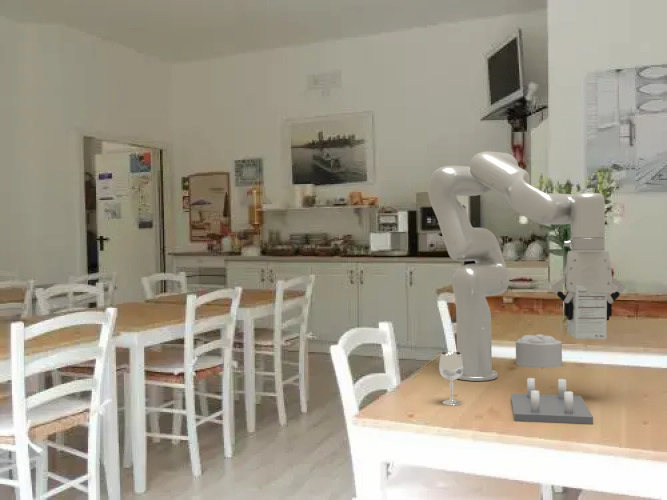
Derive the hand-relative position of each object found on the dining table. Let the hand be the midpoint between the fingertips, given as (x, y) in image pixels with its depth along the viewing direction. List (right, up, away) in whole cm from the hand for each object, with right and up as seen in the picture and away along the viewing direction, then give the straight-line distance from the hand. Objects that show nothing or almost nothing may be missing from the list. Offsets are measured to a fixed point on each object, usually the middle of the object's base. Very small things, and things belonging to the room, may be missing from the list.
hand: (587, 319), depth 159 cm
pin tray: (-11, -20, -7) cm, 24 cm away
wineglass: (-32, -21, +2) cm, 38 cm away
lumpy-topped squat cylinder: (+2, -18, +43) cm, 47 cm away
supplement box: (0, -5, +1) cm, 5 cm away
